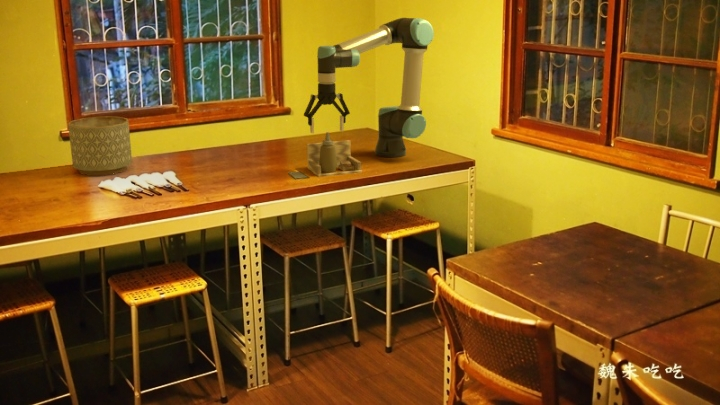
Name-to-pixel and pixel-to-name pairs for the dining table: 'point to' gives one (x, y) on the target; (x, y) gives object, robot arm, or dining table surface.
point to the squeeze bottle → (328, 155)
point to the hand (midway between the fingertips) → (327, 131)
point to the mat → (298, 175)
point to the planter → (100, 145)
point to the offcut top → (345, 163)
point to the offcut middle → (346, 168)
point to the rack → (341, 154)
